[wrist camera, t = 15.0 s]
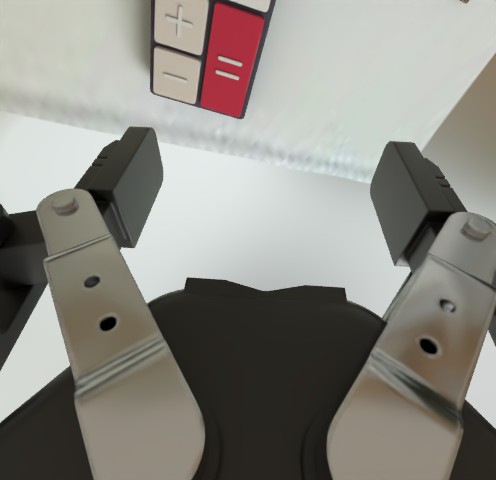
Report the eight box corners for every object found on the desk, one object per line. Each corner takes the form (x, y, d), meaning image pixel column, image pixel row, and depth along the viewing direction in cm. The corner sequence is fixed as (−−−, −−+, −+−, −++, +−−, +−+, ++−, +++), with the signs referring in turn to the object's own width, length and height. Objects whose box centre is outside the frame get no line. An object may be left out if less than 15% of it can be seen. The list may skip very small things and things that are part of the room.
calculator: (147, 96, 34) (148, -99, 22) (158, 80, 36) (163, -101, 25) (242, 124, 35) (288, -45, 24) (245, 106, 38) (287, -52, 27)
